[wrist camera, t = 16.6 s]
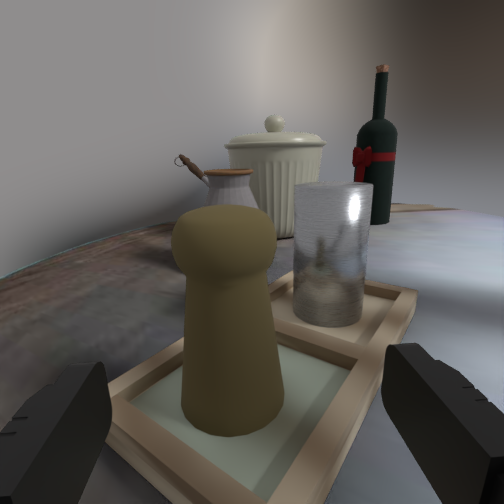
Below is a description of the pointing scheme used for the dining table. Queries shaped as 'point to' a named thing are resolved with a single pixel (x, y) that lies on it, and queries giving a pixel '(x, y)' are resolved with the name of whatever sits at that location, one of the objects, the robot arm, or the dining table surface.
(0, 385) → the dining table surface
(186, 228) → the olive brown pepper mill
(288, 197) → the canister
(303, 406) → the wooden tray
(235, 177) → the coffee pot
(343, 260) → the clear glass tumbler
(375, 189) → the wine bottle
